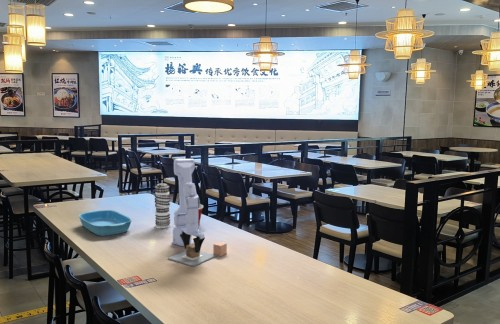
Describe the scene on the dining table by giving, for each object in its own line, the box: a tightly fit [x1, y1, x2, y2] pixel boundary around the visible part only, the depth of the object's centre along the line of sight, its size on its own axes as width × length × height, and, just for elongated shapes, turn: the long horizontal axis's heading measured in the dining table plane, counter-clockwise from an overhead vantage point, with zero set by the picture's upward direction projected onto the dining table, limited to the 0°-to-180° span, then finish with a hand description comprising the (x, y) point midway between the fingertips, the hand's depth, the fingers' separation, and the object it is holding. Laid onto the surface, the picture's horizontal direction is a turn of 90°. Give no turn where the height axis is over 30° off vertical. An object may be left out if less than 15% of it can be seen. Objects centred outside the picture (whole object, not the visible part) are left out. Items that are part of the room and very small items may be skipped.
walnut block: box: [185, 243, 200, 258], centre depth 198 cm, size 4×4×5 cm
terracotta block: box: [212, 241, 228, 257], centre depth 204 cm, size 4×4×5 cm
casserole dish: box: [78, 209, 133, 237], centre depth 243 cm, size 37×22×7 cm, turn 41°
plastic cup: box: [198, 203, 204, 227], centre depth 251 cm, size 11×11×12 cm
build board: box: [167, 250, 217, 268], centre depth 198 cm, size 16×16×1 cm
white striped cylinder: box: [154, 182, 171, 229], centre depth 248 cm, size 9×9×25 cm
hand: (192, 250), depth 198 cm, fingers open, 7 cm apart
